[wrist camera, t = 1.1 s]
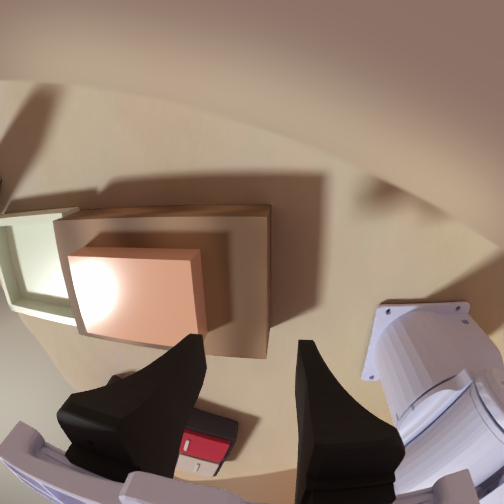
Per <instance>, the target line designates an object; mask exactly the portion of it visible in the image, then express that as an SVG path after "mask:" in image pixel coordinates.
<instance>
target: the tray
mask: <svg viewBox="0 0 504 504" xmlns="http://www.w3.org/2000/svg"><path fill="white" fill-rule="evenodd" d="M78 211H80V208H79V207H69V208H58V209H47V210H37V211H27V212H18V213H9V214H3V215H0V278H1V282H2V285H3V288H4V292H5V295H6V298H7V301H8V304H9V307H10V310H13V311H16V312H20V313H23V314H27V315H31V316H35V317H39V318H43V319H47V320H51V321H56V322H60V323H64V324H69V325H74V326H77V325H76V321H75V318H74V315H73V312H72V308H71V305H70V301H69V297H68V294H67V290H66V286H65V282H64V278H63V273H62V269H61V264H60V260H59V255H58V250H57V244H56V239H55V233H54V227H53V221H54V220H57V219H59V218H62V217H64V216H67V215H70V214H72V213H75V212H78Z"/></svg>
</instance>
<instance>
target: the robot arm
mask: <svg viewBox="0 0 504 504" xmlns="http://www.w3.org/2000/svg"><path fill="white" fill-rule="evenodd" d="M456 307H458V308H457V309H456ZM387 309H390V311H389V312H386V310H387ZM469 310H470V304H469V303H468V302H467V301H464V302H445V303H420V304H382V305H380V306H378V307H377V309H376V313H375V318H374V323H373V328H372V333H371V337H370V342H369V346H368V350H367V354H366V359H365V363H364V367H363V370H362V374H361V378H362V380H363V381H375V380H380V381H381V384H382V387H383V390H384V393H385V397H386V400H387V403H388V407H389V410H390V413H391V417H392V420H393V424H394V427H393V426H392V425H390V424H388V423H386V422H384V421H382V420H381V419H379V418H378V417H376V416H375V415H373V414H372V413H370V412H369V411H368V410H366V409H365V408H364V407H363V406H361V405H360V404H359V403H358V402H357V401H356V400H355V399H354V398H352V397H351V396H350V395H349V393H348V392H347V391H346V390H345V389H344V388H343V387H342V386H341V384H340V383H339V382H338V381H337V379H336V378H335V377H334V375H333V374H332V373H331V371H330V370H329V368H328V367H327V365H326V363H325V362H324V360H323V358H322V357H321V355H320V353H319V351H318V349H317V347H316V345H315V342H314V341H313V340H299V341H298V353H297V365H296V379H295V397H296V409H297V421H298V436H299V442H298V463H297V480H296V493H295V504H504V365H503V360H502V356H501V353H500V351H499V349H498V348H497V346H496V345H495V344H494V343H493V342H492V340H491V339H490V338H489V337H488V336H487V334H486V333H485V332H484V331H483V330H482V329H481V327H480V326H479V325H478V324H477V323H476V322H475V321H474V320H473V318H472V317H471V316H470V315H469V314H468V313H469ZM206 369H207V366H206V358H205V351H204V343H203V335H202V334H191V333H190V334H188V335H187V336H186V337H185V338H183V339H182V340H181V341H180V342H179V343H177V344H176V345H175V346H174V347H173V348H171V349H170V350H169V351H167V352H166V353H165V354H164V355H162V356H161V357H159V358H158V359H157V360H155V361H154V362H152V363H151V364H149V365H148V366H146V367H145V368H143V369H141V370H140V371H138V372H136V373H134V374H132V375H130V376H128V377H126V378H124V379H121V380H119V381H117V382H114V383H112V384H109V385H106V386H103V387H100V388H97V389H93V390H89V391H84V392H79V393H74V394H71V395H70V396H69V398H68V399H67V400H66V402H65V403H64V404H63V405H62V407H61V408H60V409H59V411H58V412H57V419H58V422H59V424H60V426H61V428H62V429H63V430H64V432H65V434H66V435H67V437H68V438H69V440H70V441H71V442H72V444H71V445H70V447H69V449H68V450H67V451H66V452H65V451H63V450H61V449H58V448H57V447H55V446H53V445H51V444H49V443H47V442H45V440H44V438H43V437H42V435H41V434H40V433H39V432H38V431H37V430H36V429H34V428H32V427H31V426H29V425H27V424H25V423H24V422H22V421H19V422H18V423H17V425H16V426H15V427H14V428H13V430H12V431H11V432H10V433H9V435H8V436H7V437H6V438H5V440H4V441H3V442H2V444H1V445H0V459H1V460H2V462H3V463H4V464H5V465H6V466H7V467H8V468H9V469H10V470H11V471H12V472H13V473H14V474H15V475H16V476H17V477H18V478H19V479H20V480H21V481H22V482H23V483H25V484H26V485H28V486H29V487H30V488H32V489H33V490H35V491H36V492H38V493H39V494H41V495H43V496H44V497H46V498H47V499H49V500H50V501H52V502H53V503H55V504H267V503H252V502H245V501H244V500H243V499H242V498H241V497H240V496H239V495H238V494H235V493H233V492H231V491H229V490H224V489H221V488H216V487H212V486H206V485H200V484H194V483H189V482H184V481H180V480H175V479H173V476H174V471H175V466H176V462H177V457H178V453H179V449H180V445H181V441H182V438H183V434H184V431H185V427H186V425H187V422H188V419H189V417H190V415H191V412H192V410H193V407H194V405H195V403H196V400H197V398H198V395H199V393H200V390H201V388H202V385H203V381H204V378H205V374H206ZM371 375H373V376H371ZM370 376H371V377H370Z"/></svg>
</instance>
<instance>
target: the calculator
mask: <svg viewBox="0 0 504 504" xmlns="http://www.w3.org/2000/svg"><path fill="white" fill-rule="evenodd" d="M119 380H121V378H119V377H117V376H115V375H113V376H112V377H111V379H110V380H109V382H108V383H107V385H109V384H112V383H114V382H117V381H119ZM237 430H238V422H237V421H234V420H231V419H227V418H224V417H221V416H217V415H214V414H211V413H208V412H205V411H202V410H199V409H196V408H193V410H192V412H191V415H190V417H189V419H188V422H187V425H186V427H185V431H184V434H183V438H182V441H181V445H180V449H179V453H178V457H177V462H176V466H175V467H176V469H178V470H181V471H185V472H188V473H192V474H196V475H200V476H204V477H208V478H212V477H213V476H216V475H217V473H218V472H219V470H220V468H221V466H222V465H223V463H224V461H225V460H226V458H227V456H228V454H229V452H230V451H231V449H232V447H233V445H234V444H235V442H236V437H237Z"/></svg>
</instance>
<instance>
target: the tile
mask: <svg viewBox="0 0 504 504" xmlns="http://www.w3.org/2000/svg"><path fill="white" fill-rule="evenodd" d="M68 261H69V265H70V270H71V274H72V279H73V283H74V287H75V291H76V295H77V299H78V303H79V306H80V310H81V314H82V317H83V320H84V324H85V327H86V330H87V332H88V333H93V334H98V335H103V336H108V337H114V338H119V339H125V340H131V341H137V342H144V343H150V344H157V345H165V346H172V347H174V346H175V345H176V344H177V343H179V342H180V341H181V340H182V339H183V338H185V337H186V336H187V335H188V334H190V333H191V334H202V335H203V342H204V340H205V338H206V336H207V333H208V329H207V320H206V310H205V300H204V289H203V277H202V265H201V252H200V249H171V248H122V247H83V248H81V249H79V250H77V251H75V252H74V253H72V254H70V255H68Z"/></svg>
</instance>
